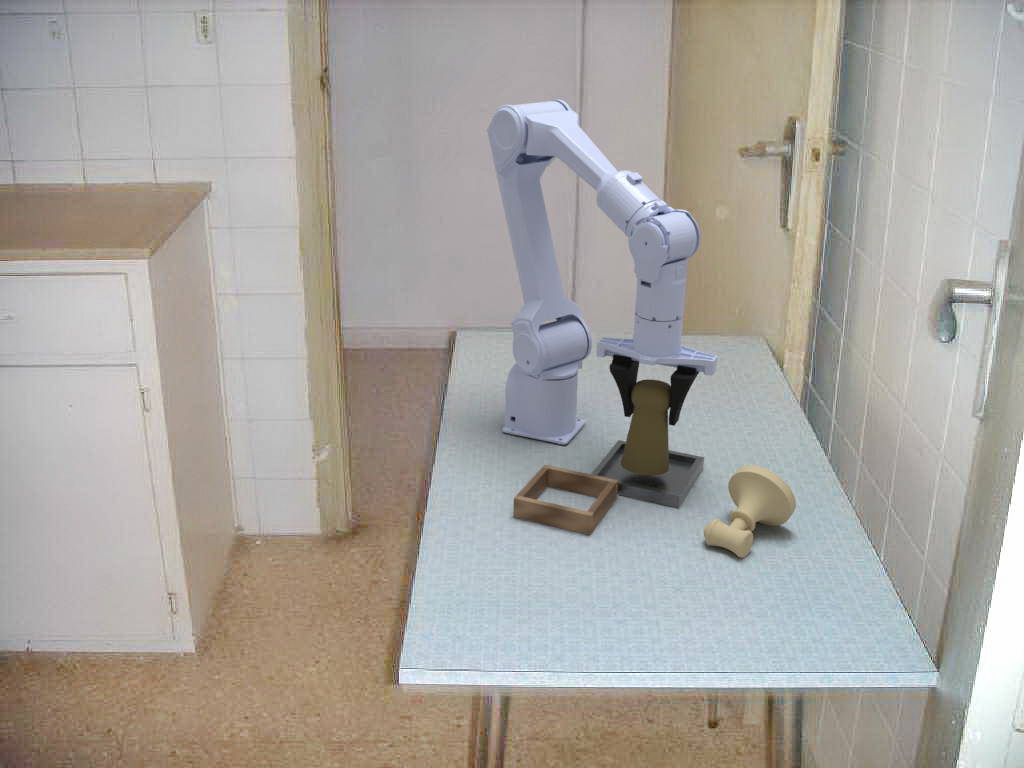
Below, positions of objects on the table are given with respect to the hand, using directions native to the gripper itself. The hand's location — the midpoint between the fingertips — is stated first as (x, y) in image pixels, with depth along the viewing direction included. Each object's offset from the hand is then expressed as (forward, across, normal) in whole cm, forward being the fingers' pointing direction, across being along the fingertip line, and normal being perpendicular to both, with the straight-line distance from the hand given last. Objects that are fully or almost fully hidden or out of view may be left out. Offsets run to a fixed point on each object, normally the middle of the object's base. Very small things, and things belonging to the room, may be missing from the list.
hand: (651, 418), depth 134 cm
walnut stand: (+8, -6, -12) cm, 16 cm away
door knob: (+9, +14, -9) cm, 19 cm away
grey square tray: (+8, 0, 0) cm, 8 cm away
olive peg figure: (+6, 0, -1) cm, 6 cm away
